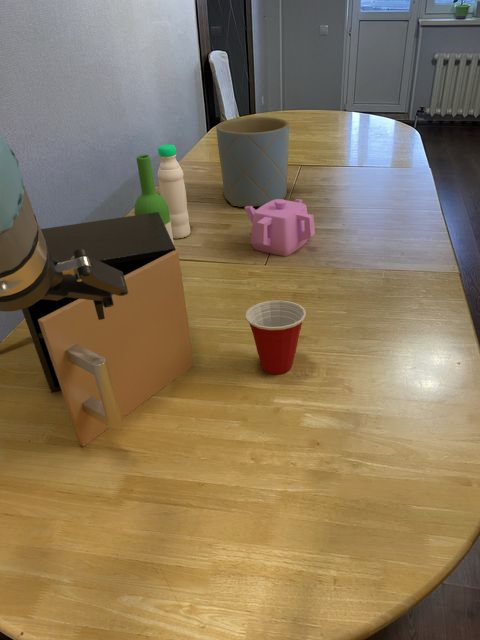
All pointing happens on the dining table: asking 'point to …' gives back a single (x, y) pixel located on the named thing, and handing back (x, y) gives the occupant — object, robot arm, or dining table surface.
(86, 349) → the freezer door
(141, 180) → the wine bottle
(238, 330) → the dining table surface
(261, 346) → the plastic cup
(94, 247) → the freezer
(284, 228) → the teakettle
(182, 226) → the water bottle
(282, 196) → the planter
